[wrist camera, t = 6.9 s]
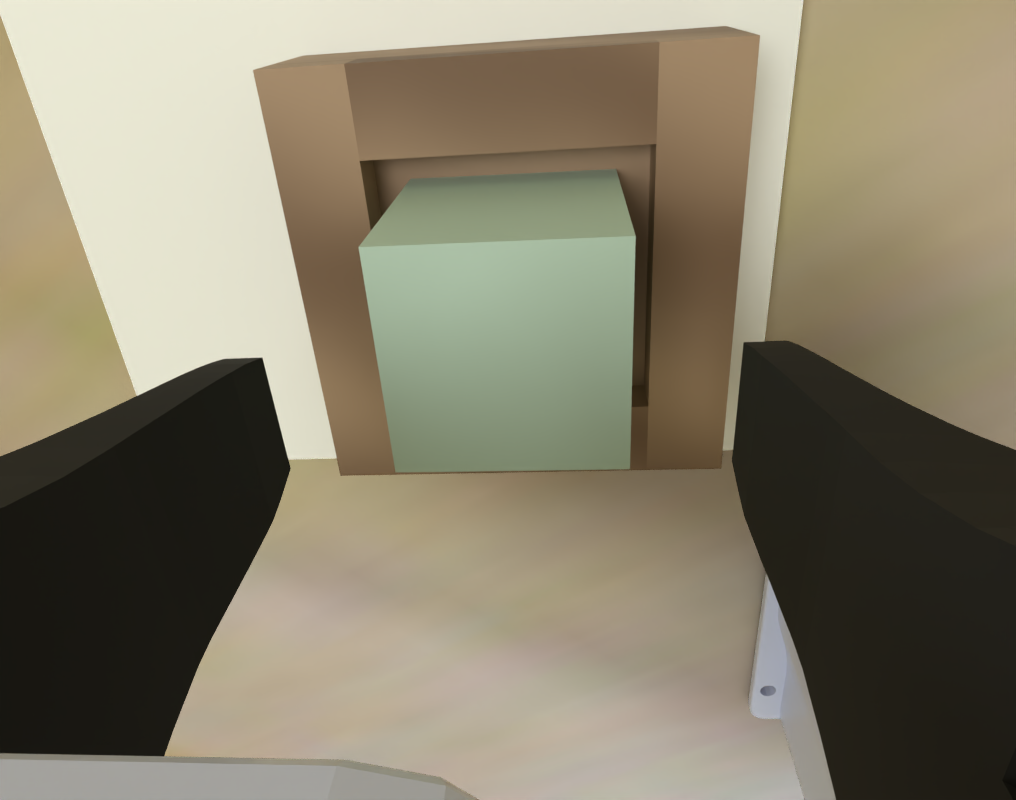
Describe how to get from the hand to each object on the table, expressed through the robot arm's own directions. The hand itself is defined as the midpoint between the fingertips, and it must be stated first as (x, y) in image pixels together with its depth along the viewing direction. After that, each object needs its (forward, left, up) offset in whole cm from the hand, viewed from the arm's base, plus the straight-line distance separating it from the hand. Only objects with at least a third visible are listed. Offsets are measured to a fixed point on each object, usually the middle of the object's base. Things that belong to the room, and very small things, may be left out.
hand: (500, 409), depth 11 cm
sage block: (0, 0, -6) cm, 6 cm away
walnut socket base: (0, 0, -8) cm, 8 cm away
